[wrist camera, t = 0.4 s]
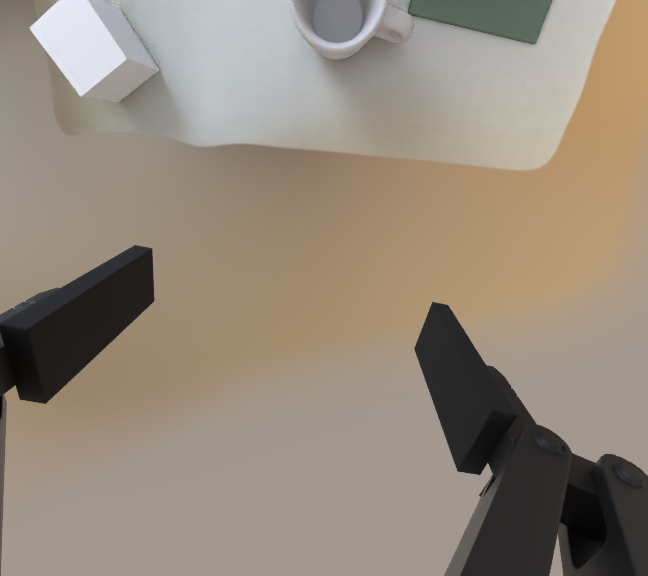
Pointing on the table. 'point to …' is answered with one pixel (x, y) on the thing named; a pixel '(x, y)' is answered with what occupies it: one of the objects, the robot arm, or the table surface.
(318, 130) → the table surface
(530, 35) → the desk mat
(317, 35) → the cup
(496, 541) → the robot arm
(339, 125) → the table surface
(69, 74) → the white cube
